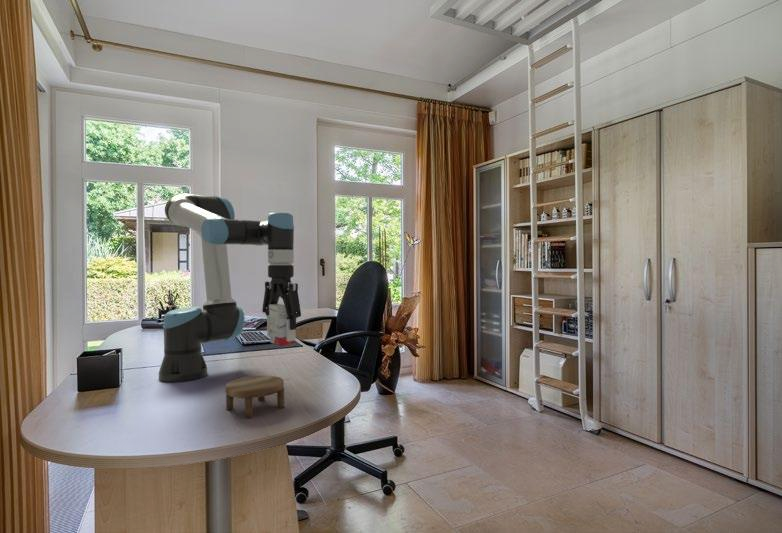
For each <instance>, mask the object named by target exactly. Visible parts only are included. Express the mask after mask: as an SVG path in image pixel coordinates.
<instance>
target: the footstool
mask: <svg viewBox="0 0 782 533" xmlns="http://www.w3.org/2000/svg"><path fill="white" fill-rule="evenodd" d="M284 383H285V382H284V379H283V378H282V377H280V376H274V375H252V376H244V377H240V378H237V379H233V380H231V381H229V382H227V383H226V384H225V402H226V403H225V404H226V406H225V407H226V408H225V409H226V410H227V411H232V410H233V409H234V398H236V399H237V398H239V399H244V419H253V398H254V399H256V398H257V401H258V402H263V401H265V397H268V396H272V395H275V394H277V396H276V400H277V401H276V402H277V403H276V404H277V405H276V406H277V407H276V408H277V409H280V410H281V409H284V408H285V388H284V387H285V386H284V385H285V384H284Z"/></svg>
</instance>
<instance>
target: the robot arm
mask: <svg viewBox="0 0 782 533" xmlns="http://www.w3.org/2000/svg"><path fill="white" fill-rule="evenodd" d="M164 213H165V217H166V218H167V220H168V221H169V222H170V223H171V224H174V225H175V226H178V227H185V228H188V229H191V230H192V231H195V233H196V234H198V235H199V236H200V239H201V248H202V249H201V251H202V260H203V261H202V262H203V272H204V274H203V275H204V282H205V293H206V295H205V297H206V300H205V302H204V303H203V304H202V308H201V307H200V306H188V307H187V306H186V307H181V308H176V309H173V310H169V311H167V312H166V313H165V314H164V317H163V325H162V328H163V352H164V353H163V359H162V360H161V365H160V367H159V371H158V380H159V381H161V382H166V383H177V382H187V381H192V380H197V379H200V378H203V377H205V376H207V375H208V366H207V364H206V360H205V358H204V355H203V351H202V344H204V343H206V344H207V343H211V342H217V341H218V342H220V341H227V340H230V339H235V338H238V337H239V336H240V335H241V333H242V331H243V330H244V326H245V313H244V311H243V310H244V309H242V307H241V306H237V304H238V303H237V301H236V300H235V299H233V298H232V297H233V296H232V287H231V277H230V268H229V258H228V246H227V245H245V246H247V245H248V246H249V245H250V246H267V258H268V259H267V262H268V264H269V265H267V276H268V277H269V278H270V279H271V280H270V281H265V282H264V296H263V302H262V309H261V311H262V313H264V314H265V315H266V325H267V326H266V328H267V330H266V332H267V335H266V336H267V337H268V338H270V325H269V305H270V304H279V300H280V298H281V299H282V301H283V303H284V305H285V309H286V312H287V315H288V317H287V318H286V341H293V340H294V341H296V340H297V338H296V337H297V336H296V330H297V319H298V318H300V317H302V310H301V305H300V304H301V303H300V299H299V284H298V283H297V282H296V283H293V282H292V280H291V279H292V278H293V277H294V274H295V272H294V265H293V264H294V262H295V261H294V260H295V259H294V258H295V256H294V252H295V251H294V248H295V247H294V243H295V242H294V241H295V240H294V234H295V232H294V230H295V229H294V228H295V225H294V215H293V214H291V213H288V212H270V213H268V215H267V219H266V220H249V219H248V220H247V219H235V218H236V217H235V215H236V214H235V209H234V207H233V205H232V203H231V202H230V201H229V200H228V199H227V198H225V197H220V196H216V195H214V196H213V195H203V194H201V195H200V194H193V193H180V194H177V195H174V196H173V197H171V198H169V199H168V200H167V201H166V203H165V206H164ZM291 313H292V314H291Z"/></svg>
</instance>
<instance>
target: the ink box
mask: <svg viewBox="0 0 782 533" xmlns="http://www.w3.org/2000/svg"><path fill="white" fill-rule="evenodd" d="M291 314H292V313H291ZM287 317H288V315H287V312H286V309H285V305H284V302H283V303H277V304H270V305H269V325H270V337H269V342H270V344H274V345H275V346H278V347H284V346H286V347H287V346H290V345H291V346H292V345H295V340H293V341H286V318H287Z"/></svg>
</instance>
